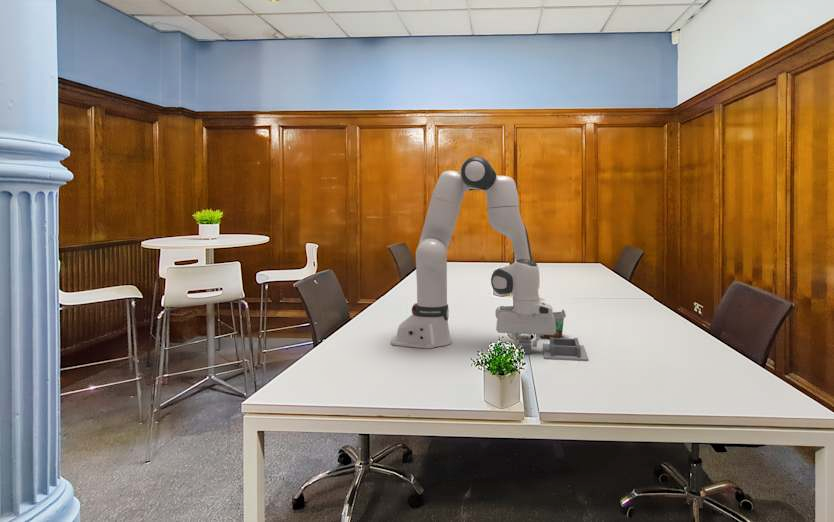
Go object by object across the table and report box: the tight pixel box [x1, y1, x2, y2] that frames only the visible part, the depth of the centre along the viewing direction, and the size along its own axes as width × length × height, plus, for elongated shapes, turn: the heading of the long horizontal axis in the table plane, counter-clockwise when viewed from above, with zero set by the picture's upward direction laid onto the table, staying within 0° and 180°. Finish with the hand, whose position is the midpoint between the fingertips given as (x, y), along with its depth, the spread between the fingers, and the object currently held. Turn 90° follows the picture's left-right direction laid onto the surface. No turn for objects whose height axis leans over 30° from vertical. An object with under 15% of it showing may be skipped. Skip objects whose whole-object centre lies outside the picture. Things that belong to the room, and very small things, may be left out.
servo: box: [518, 334, 532, 355], centre depth 180 cm, size 4×9×5 cm, turn 169°
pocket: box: [542, 337, 589, 362], centre depth 178 cm, size 14×17×4 cm
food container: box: [540, 309, 567, 340], centre depth 197 cm, size 12×6×10 cm, turn 105°
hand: (525, 346), depth 180 cm, fingers open, 5 cm apart
